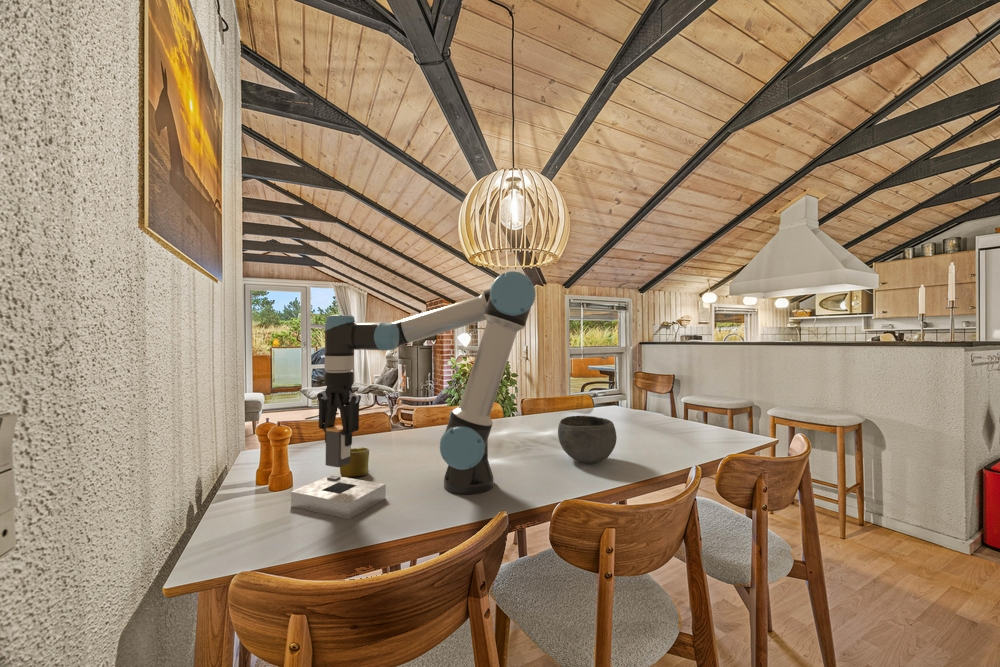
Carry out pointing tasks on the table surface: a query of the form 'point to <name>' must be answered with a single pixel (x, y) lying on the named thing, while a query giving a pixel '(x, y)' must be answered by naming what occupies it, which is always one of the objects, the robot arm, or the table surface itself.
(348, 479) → the socket plate
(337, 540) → the table surface
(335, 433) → the plug
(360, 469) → the mug
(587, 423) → the bowl
